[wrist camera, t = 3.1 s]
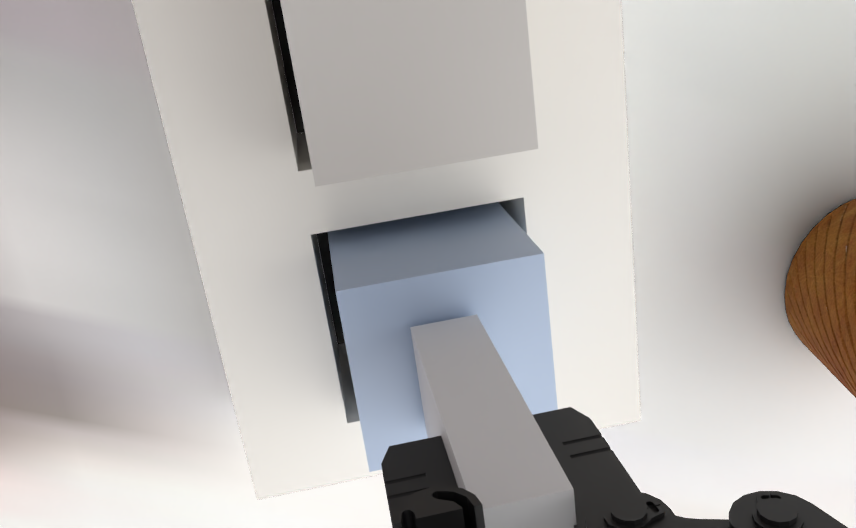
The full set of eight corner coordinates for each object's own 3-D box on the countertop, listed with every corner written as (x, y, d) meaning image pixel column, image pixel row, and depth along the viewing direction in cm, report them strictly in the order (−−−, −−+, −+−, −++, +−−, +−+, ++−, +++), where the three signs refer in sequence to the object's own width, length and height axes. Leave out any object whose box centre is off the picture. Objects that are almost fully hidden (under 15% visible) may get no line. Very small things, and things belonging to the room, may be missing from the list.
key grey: (456, -76, 21) (517, -95, 15) (476, 104, 22) (538, 149, 17) (275, -51, 20) (268, -60, 15) (309, 131, 22) (315, 186, 16)
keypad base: (521, -495, 20) (591, -638, 15) (583, 346, 28) (641, 420, 23) (59, -454, 19) (-18, -595, 14) (263, 408, 27) (256, 499, 22)
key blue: (484, 186, 23) (543, 253, 18) (499, 329, 25) (559, 432, 19) (324, 213, 23) (335, 291, 17) (352, 358, 25) (369, 472, 19)
